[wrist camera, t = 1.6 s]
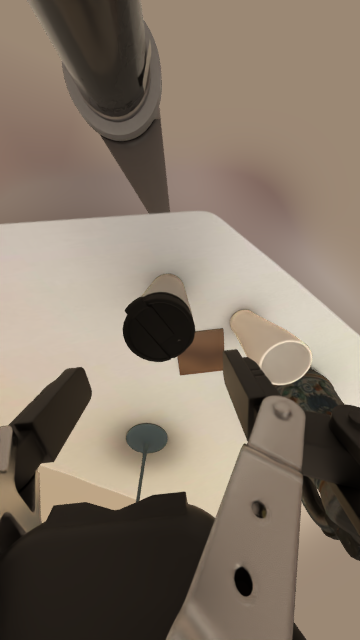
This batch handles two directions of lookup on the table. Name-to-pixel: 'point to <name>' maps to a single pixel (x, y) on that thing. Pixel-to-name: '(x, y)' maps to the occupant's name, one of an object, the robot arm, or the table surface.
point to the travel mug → (160, 321)
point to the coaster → (203, 353)
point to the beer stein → (325, 511)
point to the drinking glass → (271, 347)
